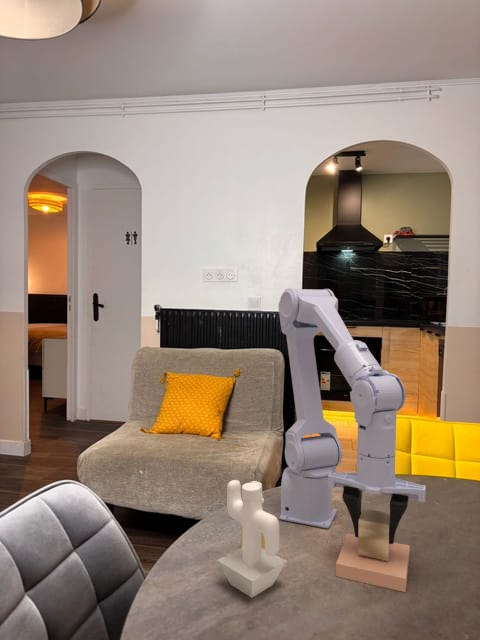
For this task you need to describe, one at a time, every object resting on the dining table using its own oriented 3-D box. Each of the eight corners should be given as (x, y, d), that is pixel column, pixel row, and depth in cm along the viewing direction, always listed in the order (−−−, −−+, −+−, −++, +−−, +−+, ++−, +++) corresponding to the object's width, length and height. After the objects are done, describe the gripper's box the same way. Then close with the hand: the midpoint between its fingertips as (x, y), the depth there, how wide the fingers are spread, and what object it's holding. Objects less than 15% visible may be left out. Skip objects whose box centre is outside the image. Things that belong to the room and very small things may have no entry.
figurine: (257, 611, 64) (258, 501, 63) (211, 581, 70) (212, 481, 70) (292, 588, 69) (293, 487, 68) (246, 562, 75) (247, 469, 75)
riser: (335, 576, 72) (336, 563, 72) (347, 544, 81) (347, 533, 81) (405, 592, 68) (405, 578, 68) (409, 557, 77) (409, 545, 77)
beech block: (357, 554, 74) (358, 519, 73) (362, 541, 78) (362, 508, 78) (388, 560, 72) (388, 525, 72) (390, 546, 76) (391, 513, 76)
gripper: (324, 454, 73) (323, 540, 73) (425, 467, 67) (423, 560, 68) (333, 441, 79) (332, 520, 80) (426, 452, 74) (424, 537, 74)
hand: (374, 537), depth 74 cm, fingers closed on beech block, 4 cm apart
